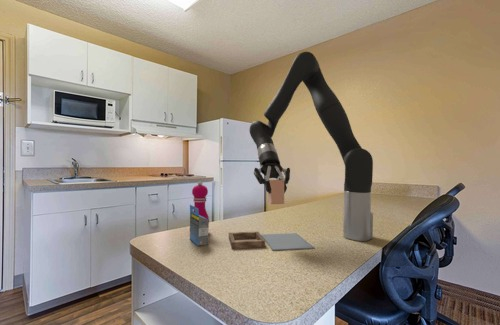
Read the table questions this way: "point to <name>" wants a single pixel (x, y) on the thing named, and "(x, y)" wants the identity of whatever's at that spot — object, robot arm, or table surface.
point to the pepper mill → (200, 199)
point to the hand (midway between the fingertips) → (277, 191)
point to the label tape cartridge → (198, 227)
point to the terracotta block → (276, 192)
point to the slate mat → (286, 241)
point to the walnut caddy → (246, 244)
